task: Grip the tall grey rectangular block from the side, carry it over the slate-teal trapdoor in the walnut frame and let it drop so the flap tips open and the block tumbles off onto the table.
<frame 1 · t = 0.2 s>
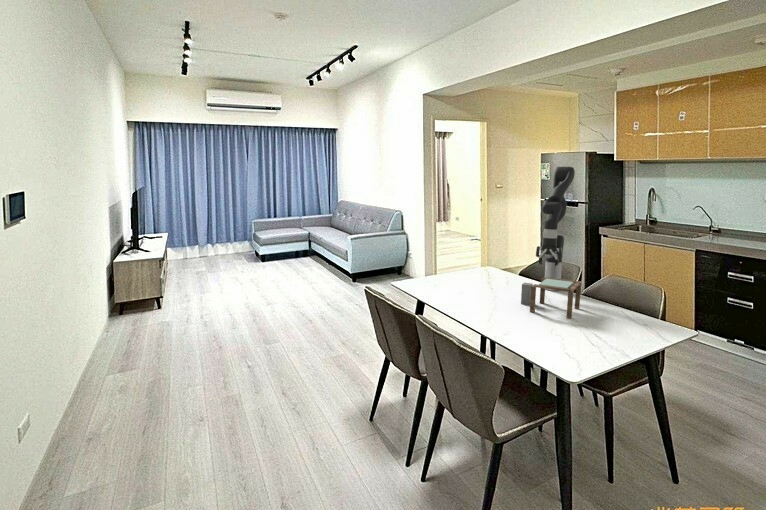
hand: (548, 265, 266), 17 cm above the table, tool pointing down, fingers open, 8 cm apart
trapdoor frame: (554, 310, 240), on the table
trapdoor: (557, 284, 237), point 14 cm above the table, hinge at 0.0°
grey rectangular block: (526, 303, 252), on the table
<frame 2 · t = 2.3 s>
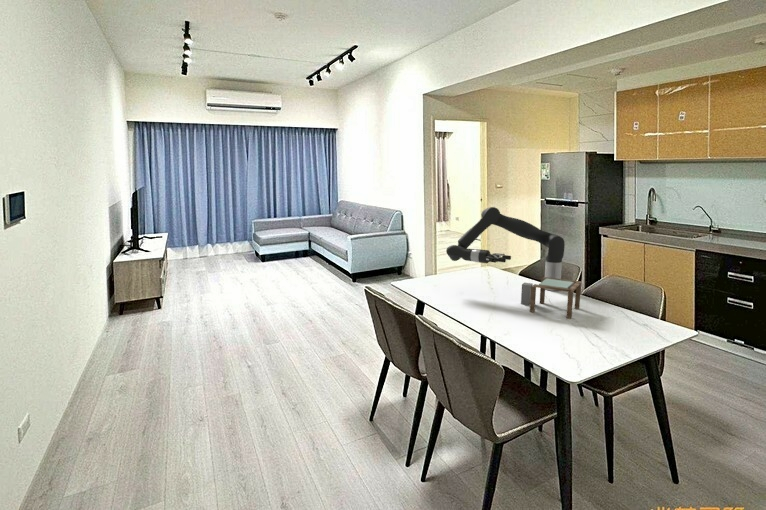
hand: (508, 259, 253), 23 cm above the table, tool horizontal, fingers open, 8 cm apart
nothing on the table moved.
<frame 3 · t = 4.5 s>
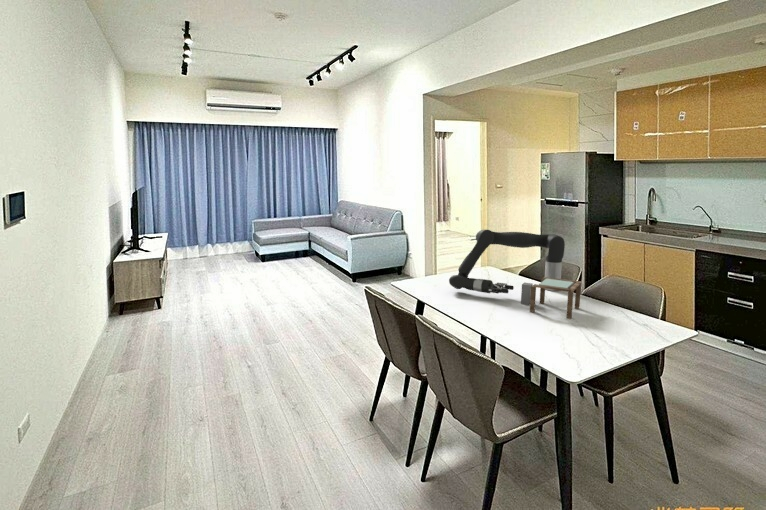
hand: (510, 289, 256), 6 cm above the table, tool horizontal, fingers open, 8 cm apart
nothing on the table moved.
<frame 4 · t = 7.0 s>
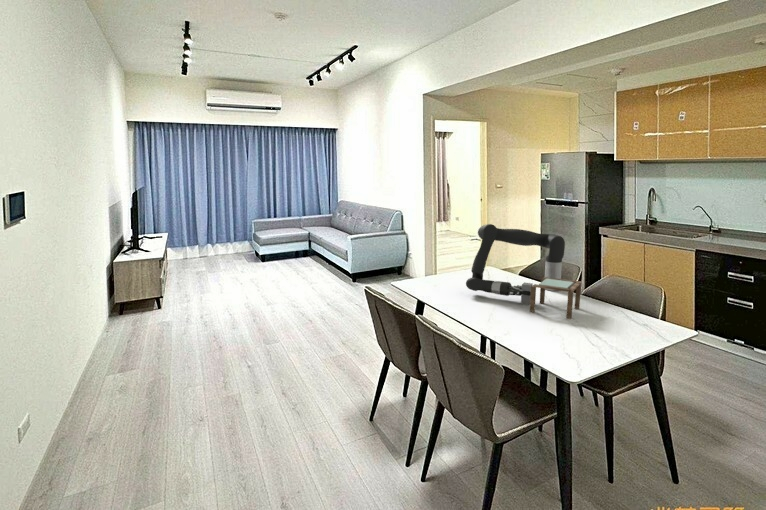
hand: (531, 292, 249), 7 cm above the table, tool horizontal, fingers closed on grey rectangular block, 4 cm apart
grey rectangular block: (526, 303, 252), on the table, touching gripper
everything else where it was.
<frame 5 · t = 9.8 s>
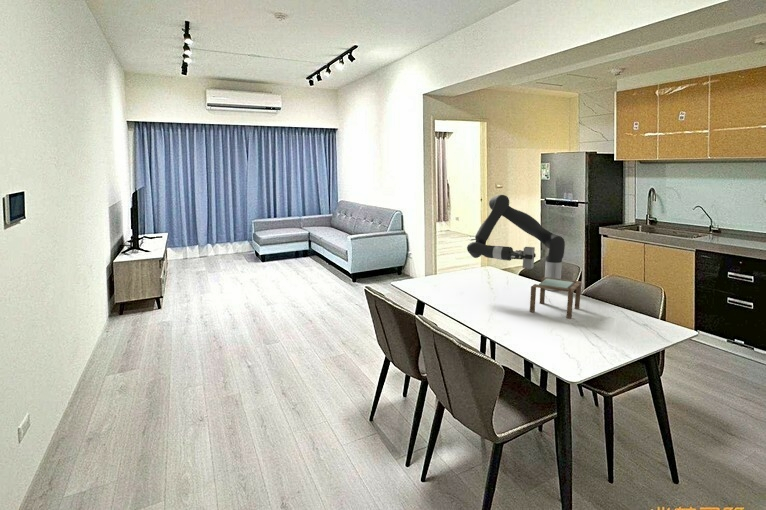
hand: (533, 256, 245), 26 cm above the table, tool horizontal, fingers closed on grey rectangular block, 4 cm apart
grey rectangular block: (528, 267, 248), point 20 cm above the table, touching gripper
everything else where it was.
when the fingers open (23 cm above the table, at t = 12.5 s): grey rectangular block drops 15 cm and tips over, point 2 cm above the table.
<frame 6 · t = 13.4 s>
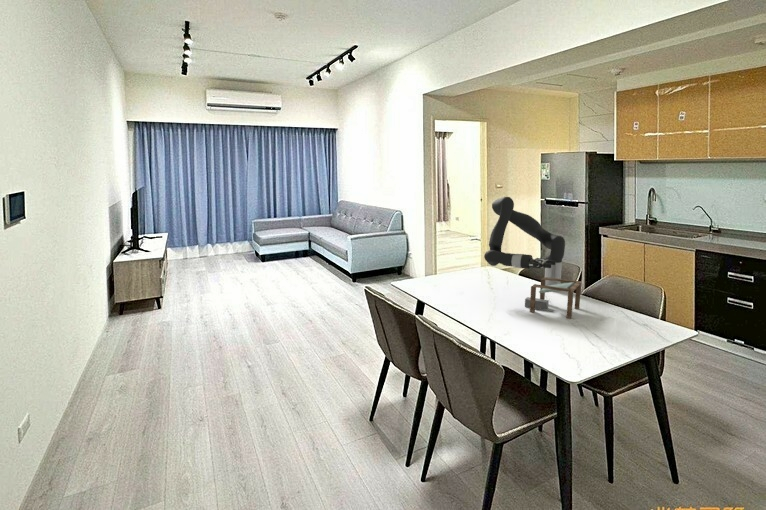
hand: (553, 264, 236), 24 cm above the table, tool horizontal, fingers open, 8 cm apart
trapdoor: (557, 287, 237), point 12 cm above the table, hinge at -15.2°
grey rectangular block: (547, 305, 241), point 2 cm above the table, tilted 90°
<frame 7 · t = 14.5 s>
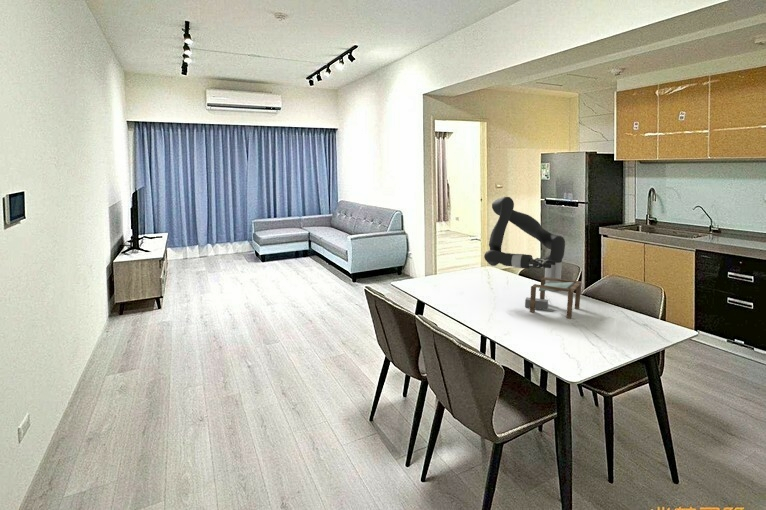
hand: (553, 264, 236), 24 cm above the table, tool horizontal, fingers open, 8 cm apart
trapdoor: (557, 286, 237), point 13 cm above the table, hinge at -10.3°
everything else where it was.
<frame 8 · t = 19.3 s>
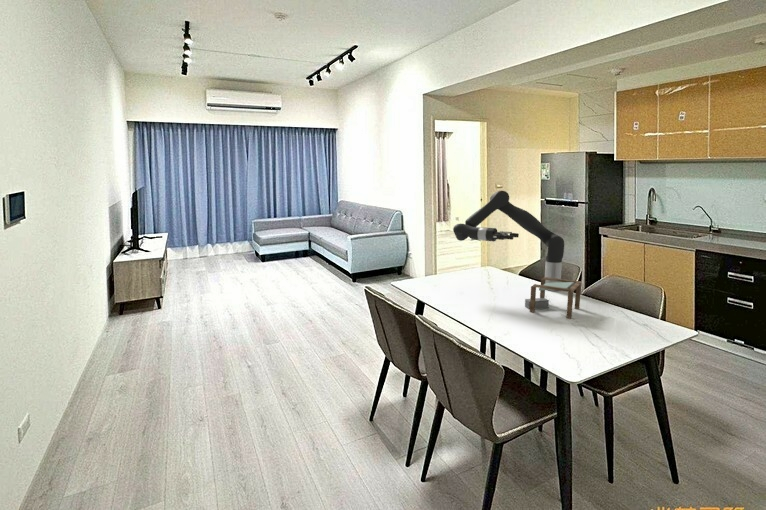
hand: (515, 236, 251), 36 cm above the table, tool horizontal, fingers open, 8 cm apart
trapdoor: (557, 286, 237), point 13 cm above the table, hinge at -9.3°
grey rectangular block: (546, 303, 245), point 2 cm above the table, tilted 90°
at the end: grey rectangular block inside the target area on the trapdoor frame (5.0 cm from its centre), point 2.0 cm above the trapdoor frame's base; grey rectangular block moved 10.8 cm from its start; the gripper is holding nothing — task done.
